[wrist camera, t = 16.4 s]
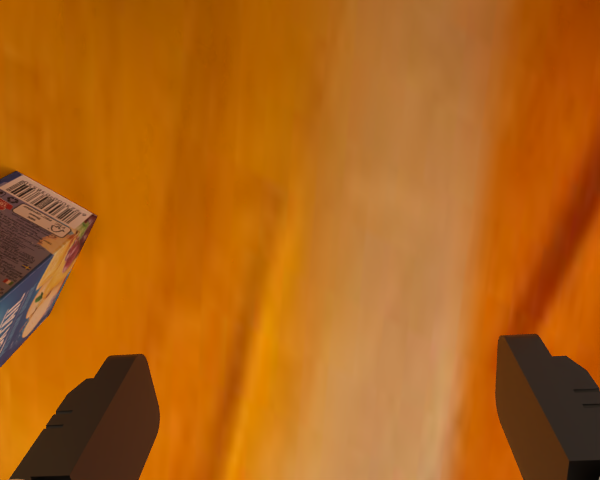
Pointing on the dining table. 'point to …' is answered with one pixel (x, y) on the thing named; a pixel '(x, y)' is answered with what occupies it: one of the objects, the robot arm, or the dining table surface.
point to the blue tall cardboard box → (34, 254)
